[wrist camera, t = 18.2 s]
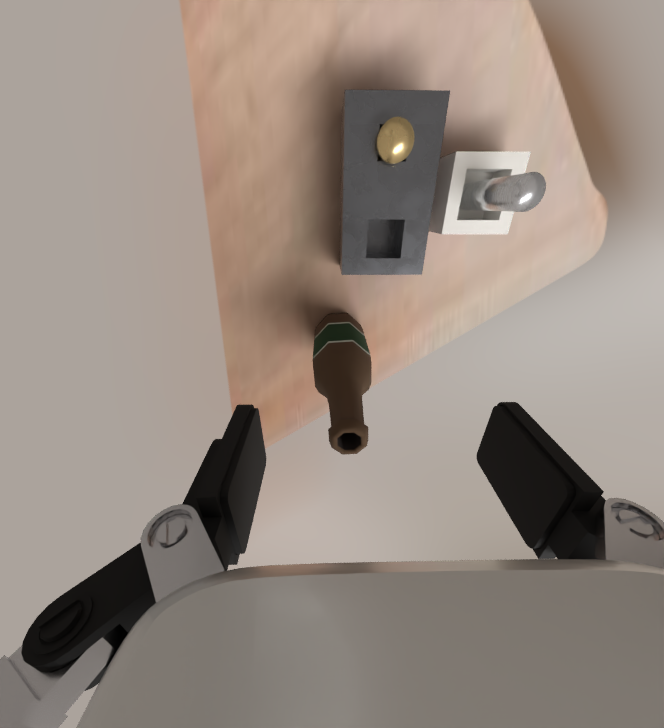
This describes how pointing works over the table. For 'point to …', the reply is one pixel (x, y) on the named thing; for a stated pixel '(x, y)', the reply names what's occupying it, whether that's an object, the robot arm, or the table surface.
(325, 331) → the beer bottle
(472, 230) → the holder
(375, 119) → the socket block
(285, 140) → the table surface
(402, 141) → the key
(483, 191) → the silver rounded peg
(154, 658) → the robot arm
